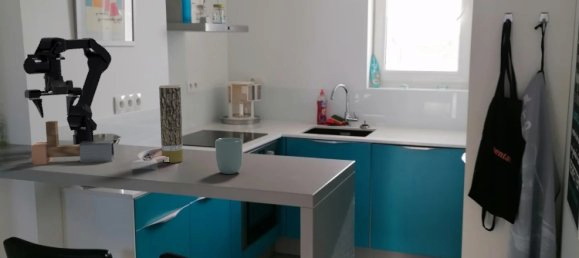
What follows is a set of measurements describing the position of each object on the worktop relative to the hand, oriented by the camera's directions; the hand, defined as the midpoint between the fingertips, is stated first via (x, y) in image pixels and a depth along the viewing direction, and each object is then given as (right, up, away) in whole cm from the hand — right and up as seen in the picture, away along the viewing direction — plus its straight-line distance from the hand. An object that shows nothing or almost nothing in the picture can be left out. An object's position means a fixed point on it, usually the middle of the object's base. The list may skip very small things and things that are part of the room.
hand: (55, 116), depth 209 cm
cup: (+66, -18, -35) cm, 77 cm away
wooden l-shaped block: (+10, -13, -16) cm, 23 cm away
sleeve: (+20, -15, -14) cm, 28 cm away
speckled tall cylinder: (+45, -15, -17) cm, 51 cm away
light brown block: (+2, -15, -16) cm, 23 cm away
